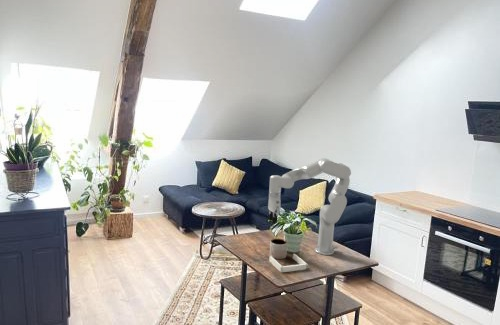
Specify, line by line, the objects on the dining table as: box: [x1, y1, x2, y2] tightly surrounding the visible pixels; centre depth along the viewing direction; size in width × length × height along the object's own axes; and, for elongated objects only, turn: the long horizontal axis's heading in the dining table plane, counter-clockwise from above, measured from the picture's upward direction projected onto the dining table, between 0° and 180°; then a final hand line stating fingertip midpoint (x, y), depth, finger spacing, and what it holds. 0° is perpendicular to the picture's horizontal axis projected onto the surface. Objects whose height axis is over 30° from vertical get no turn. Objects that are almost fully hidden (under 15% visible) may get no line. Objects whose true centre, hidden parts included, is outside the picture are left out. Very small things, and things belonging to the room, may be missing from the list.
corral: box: [269, 253, 309, 273], centre depth 220 cm, size 17×16×3 cm
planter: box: [269, 238, 288, 260], centre depth 233 cm, size 11×11×10 cm
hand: (272, 221), depth 240 cm, fingers open, 4 cm apart
